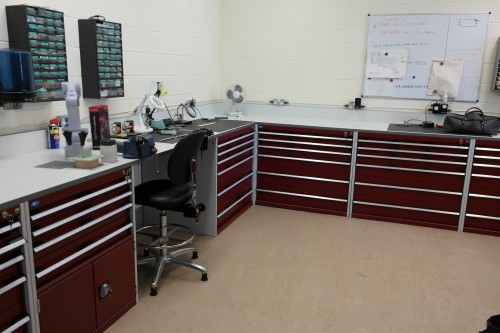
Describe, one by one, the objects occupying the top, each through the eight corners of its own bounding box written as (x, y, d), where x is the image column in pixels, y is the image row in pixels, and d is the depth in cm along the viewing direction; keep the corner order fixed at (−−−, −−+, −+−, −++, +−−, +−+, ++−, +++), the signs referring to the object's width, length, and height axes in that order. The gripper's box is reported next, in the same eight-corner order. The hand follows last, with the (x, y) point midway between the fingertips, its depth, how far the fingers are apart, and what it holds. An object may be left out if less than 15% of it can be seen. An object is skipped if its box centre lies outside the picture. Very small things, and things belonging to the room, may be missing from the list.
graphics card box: (102, 150, 261) (99, 106, 255) (91, 150, 261) (87, 106, 255) (111, 145, 277) (108, 104, 271) (101, 145, 278) (98, 104, 271)
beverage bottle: (75, 146, 273) (72, 116, 269) (82, 147, 268) (80, 116, 264) (63, 148, 266) (60, 117, 262) (70, 149, 262) (67, 118, 257)
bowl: (71, 168, 212) (70, 159, 211) (84, 163, 223) (83, 155, 222) (90, 169, 210) (89, 160, 209) (102, 164, 220) (102, 156, 219)
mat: (32, 168, 212) (32, 167, 212) (55, 161, 228) (55, 160, 228) (61, 170, 208) (61, 169, 208) (82, 163, 224) (82, 162, 224)
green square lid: (66, 159, 210) (65, 151, 209) (83, 154, 224) (82, 146, 223) (90, 161, 207) (89, 152, 206) (106, 156, 220) (105, 147, 219)
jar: (103, 163, 223) (101, 141, 220) (99, 161, 229) (97, 139, 227) (119, 162, 228) (118, 140, 225) (115, 159, 234) (114, 138, 232)
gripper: (56, 120, 212) (59, 146, 215) (81, 120, 209) (83, 147, 212) (65, 118, 219) (68, 144, 222) (90, 119, 216) (92, 145, 218)
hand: (76, 145), depth 217 cm, fingers open, 7 cm apart
